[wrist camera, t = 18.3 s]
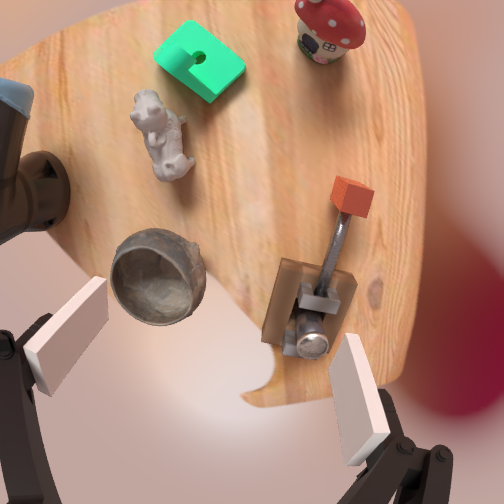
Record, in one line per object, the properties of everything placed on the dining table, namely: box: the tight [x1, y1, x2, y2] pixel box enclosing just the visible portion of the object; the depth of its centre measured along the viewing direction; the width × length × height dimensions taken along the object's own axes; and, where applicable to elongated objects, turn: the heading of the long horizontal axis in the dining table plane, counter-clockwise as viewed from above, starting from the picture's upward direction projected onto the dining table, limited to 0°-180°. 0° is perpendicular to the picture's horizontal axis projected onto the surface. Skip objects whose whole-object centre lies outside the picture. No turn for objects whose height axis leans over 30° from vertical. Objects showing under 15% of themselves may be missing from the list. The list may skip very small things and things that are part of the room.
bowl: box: [110, 228, 206, 326], centre depth 45 cm, size 14×15×10 cm
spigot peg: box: [294, 297, 329, 359], centre depth 45 cm, size 4×4×12 cm
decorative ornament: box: [295, 0, 366, 64], centre depth 28 cm, size 9×6×15 cm
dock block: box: [261, 258, 358, 360], centre depth 47 cm, size 12×14×8 cm
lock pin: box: [313, 176, 374, 298], centre depth 40 cm, size 4×18×7 cm, turn 168°
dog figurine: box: [130, 89, 196, 182], centre depth 37 cm, size 5×13×11 cm, turn 14°
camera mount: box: [153, 20, 246, 104], centre depth 33 cm, size 12×8×10 cm, turn 44°
